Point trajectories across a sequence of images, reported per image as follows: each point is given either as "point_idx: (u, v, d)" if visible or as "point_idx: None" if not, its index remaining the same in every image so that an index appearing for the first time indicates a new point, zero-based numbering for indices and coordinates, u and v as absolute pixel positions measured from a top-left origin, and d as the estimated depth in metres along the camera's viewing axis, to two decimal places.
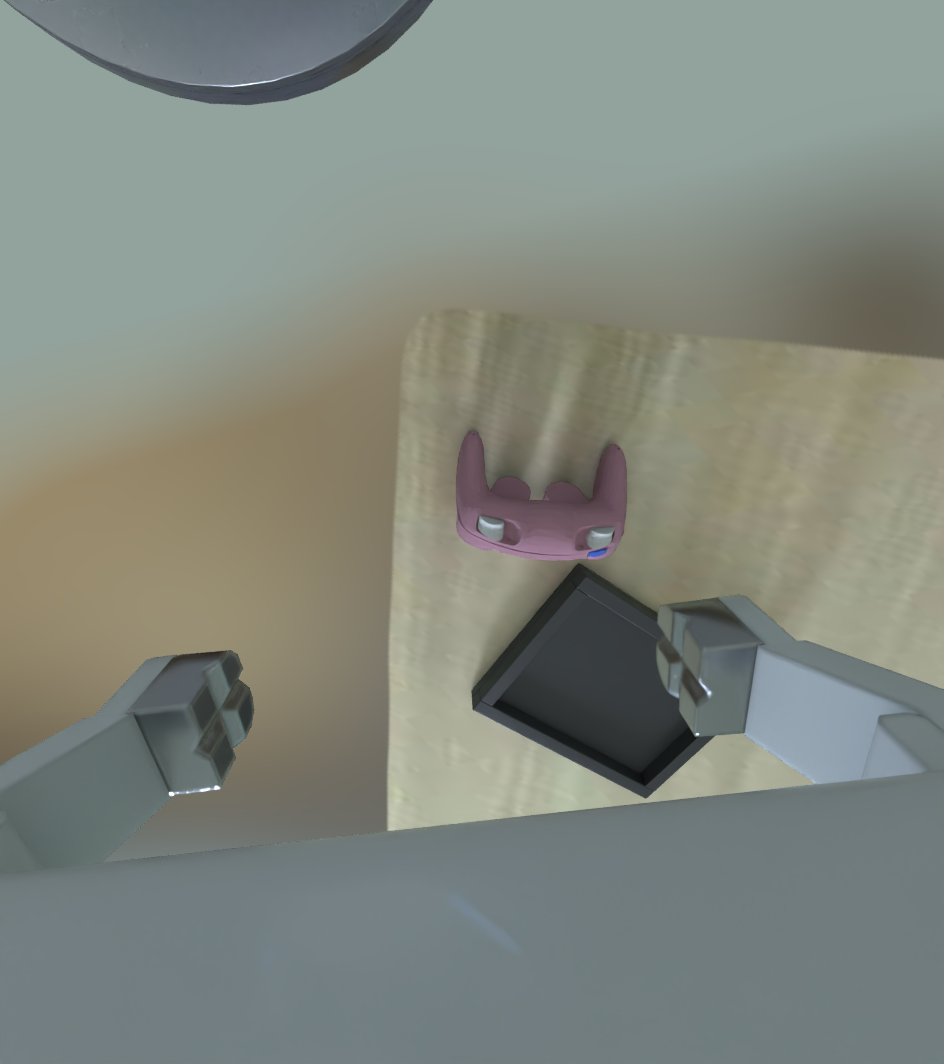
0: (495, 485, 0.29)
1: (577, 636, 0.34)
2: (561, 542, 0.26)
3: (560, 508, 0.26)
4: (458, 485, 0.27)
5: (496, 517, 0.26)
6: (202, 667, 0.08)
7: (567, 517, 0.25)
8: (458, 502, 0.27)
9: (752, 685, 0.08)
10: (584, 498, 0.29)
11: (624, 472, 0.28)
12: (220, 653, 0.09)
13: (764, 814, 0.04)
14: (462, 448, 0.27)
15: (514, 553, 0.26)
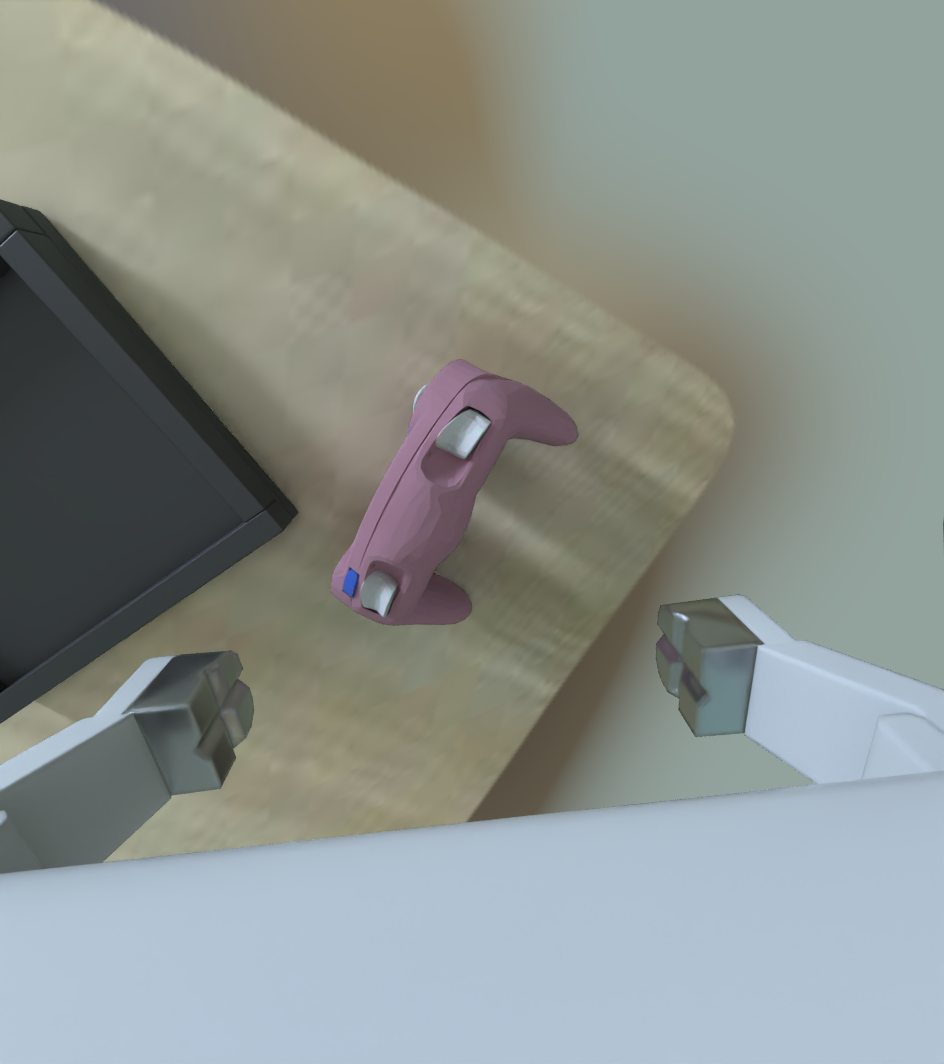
0: None
1: (153, 475, 0.18)
2: (399, 545, 0.15)
3: (450, 551, 0.16)
4: (528, 392, 0.16)
5: (478, 450, 0.14)
6: (202, 667, 0.08)
7: (435, 562, 0.15)
8: (507, 383, 0.15)
9: (752, 685, 0.08)
10: None
11: (442, 624, 0.19)
12: (220, 653, 0.09)
13: (764, 814, 0.04)
14: (567, 415, 0.17)
15: (403, 458, 0.14)
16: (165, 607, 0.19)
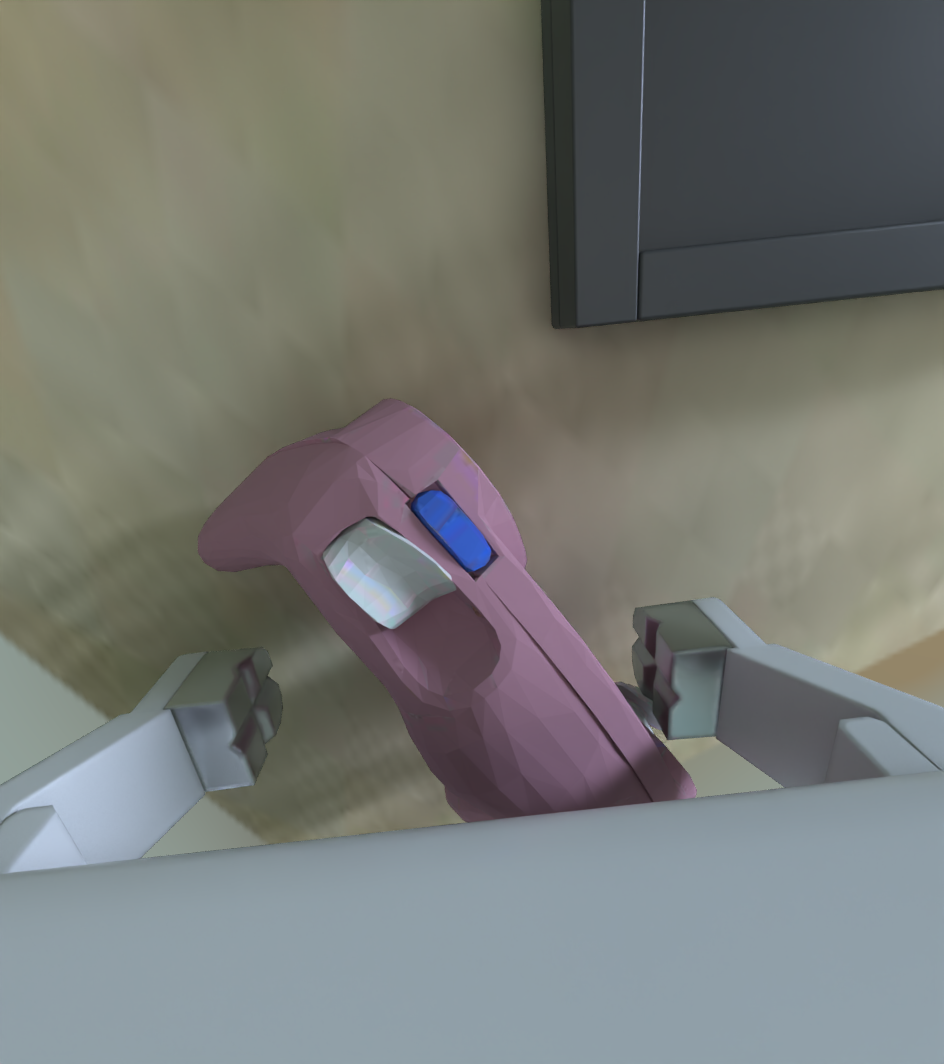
0: None
1: (819, 89, 0.08)
2: (512, 729, 0.06)
3: None
4: None
5: None
6: (235, 664, 0.08)
7: (421, 741, 0.07)
8: None
9: (722, 688, 0.08)
10: None
11: (210, 541, 0.08)
12: (251, 650, 0.09)
13: (764, 814, 0.04)
14: None
15: (653, 772, 0.07)
16: None
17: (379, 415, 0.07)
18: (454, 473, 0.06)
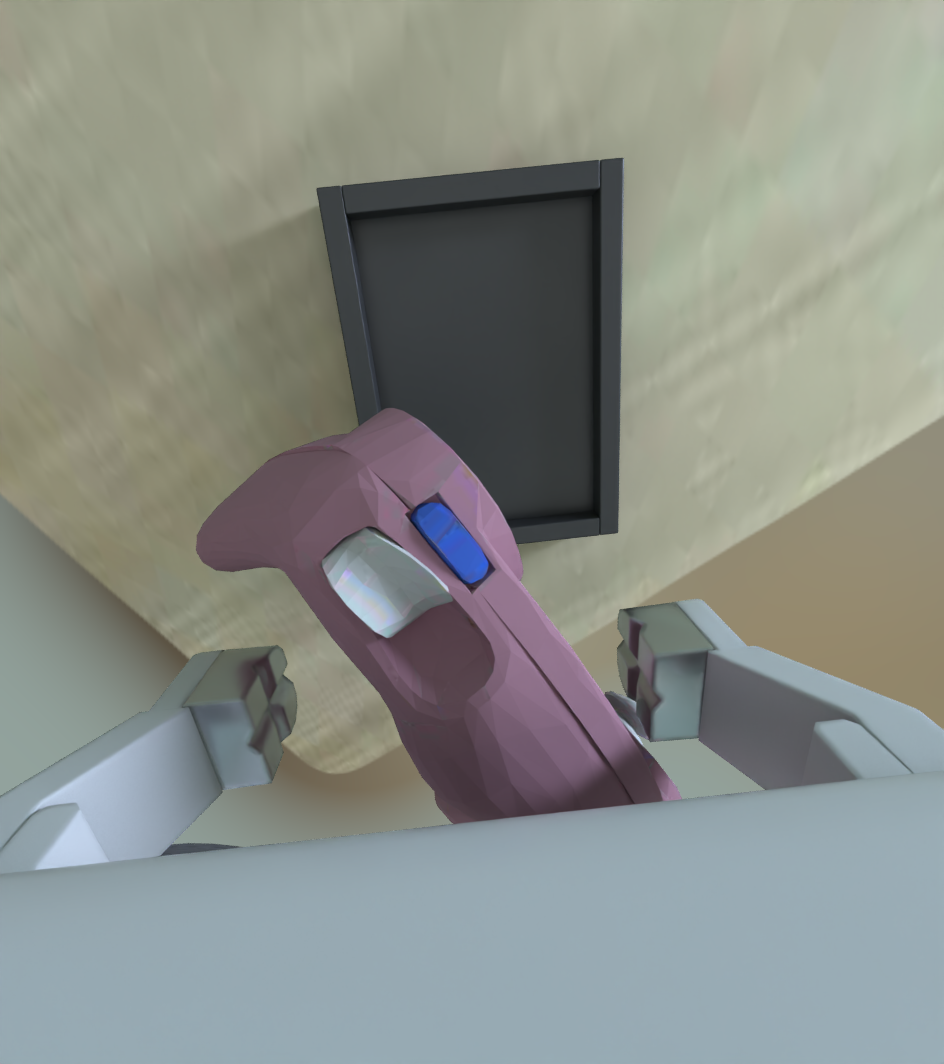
0: None
1: None
2: (503, 740, 0.06)
3: (411, 754, 0.07)
4: None
5: None
6: (251, 662, 0.08)
7: (413, 748, 0.07)
8: None
9: (704, 690, 0.08)
10: None
11: (209, 542, 0.08)
12: (267, 648, 0.09)
13: (764, 814, 0.04)
14: None
15: (641, 784, 0.07)
16: None
17: (382, 425, 0.07)
18: (454, 486, 0.06)
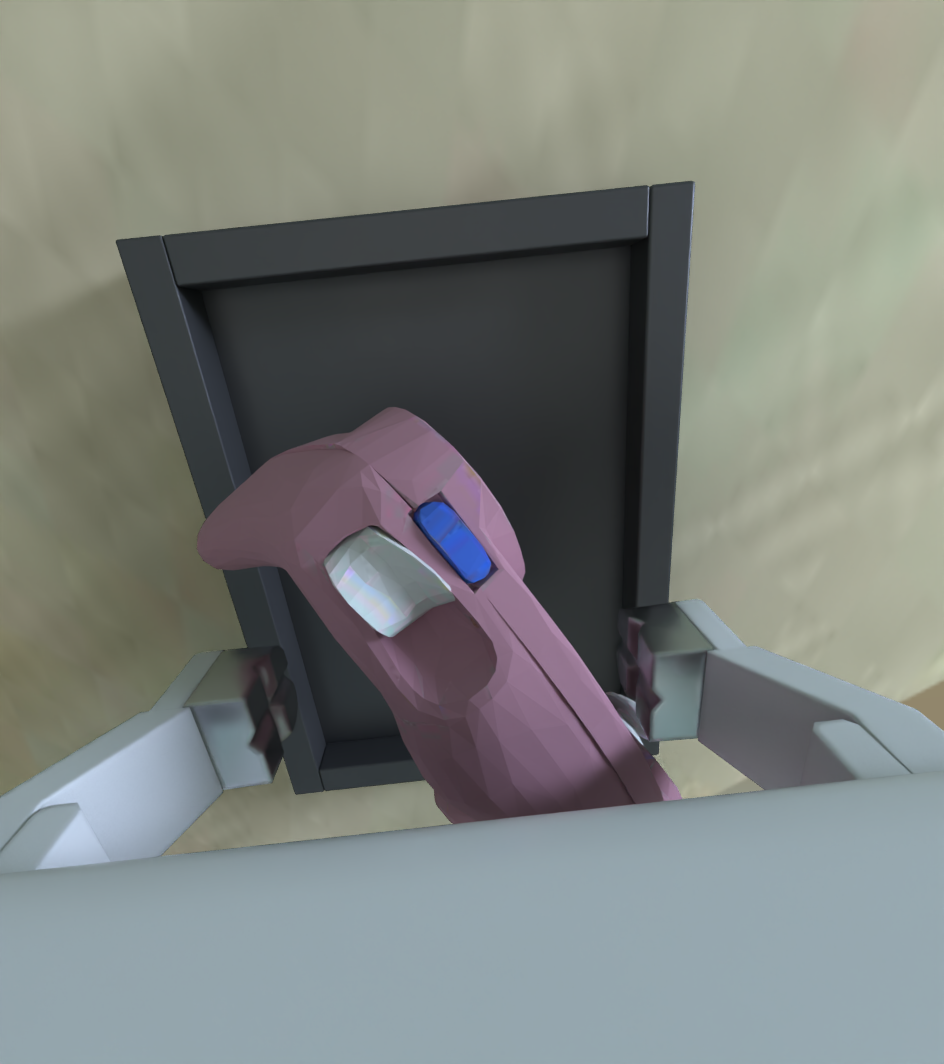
0: None
1: None
2: (505, 740, 0.06)
3: None
4: None
5: None
6: (252, 662, 0.08)
7: (414, 749, 0.07)
8: None
9: (703, 690, 0.08)
10: None
11: (210, 540, 0.08)
12: (268, 648, 0.09)
13: (764, 814, 0.04)
14: None
15: (641, 785, 0.07)
16: None
17: (384, 424, 0.07)
18: (457, 485, 0.06)
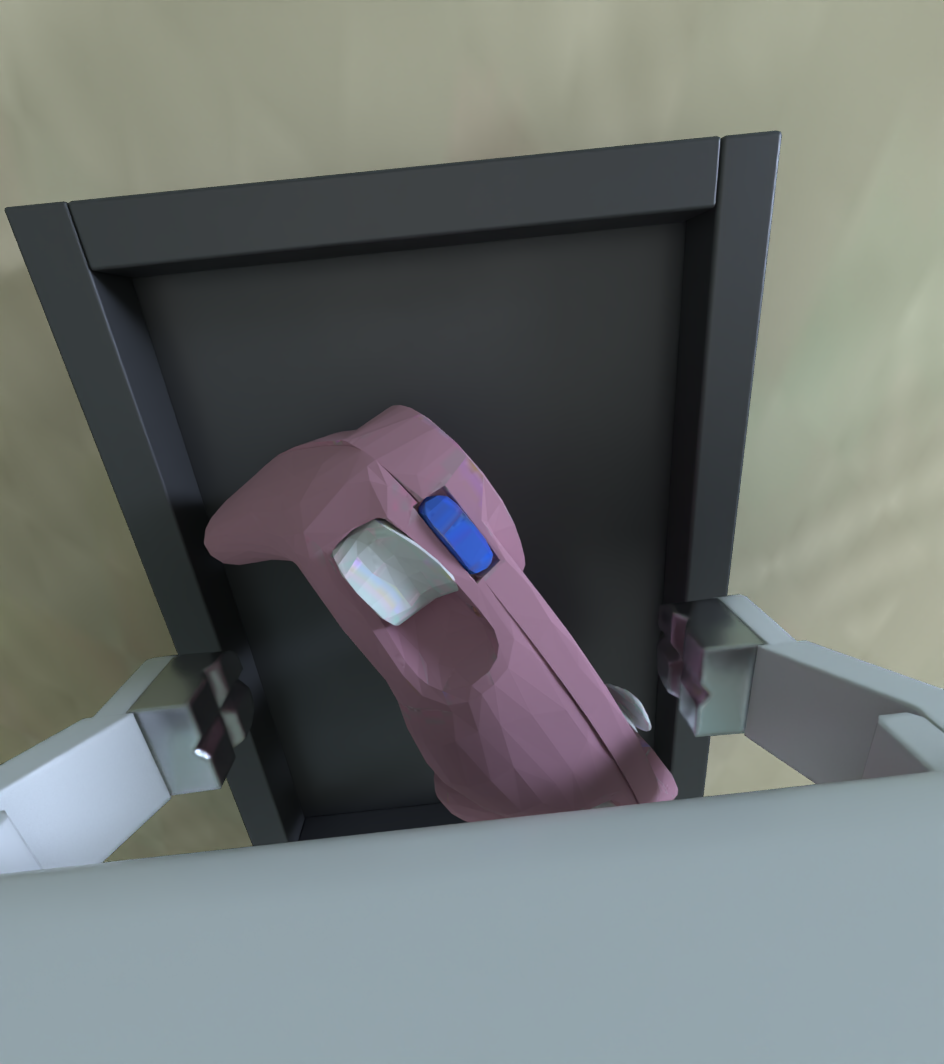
0: None
1: (401, 752, 0.14)
2: (506, 724, 0.06)
3: None
4: None
5: None
6: (202, 667, 0.08)
7: (419, 733, 0.07)
8: None
9: (752, 685, 0.08)
10: None
11: (219, 535, 0.09)
12: (220, 653, 0.09)
13: (764, 814, 0.04)
14: None
15: (637, 770, 0.07)
16: None
17: (390, 421, 0.07)
18: (460, 480, 0.06)
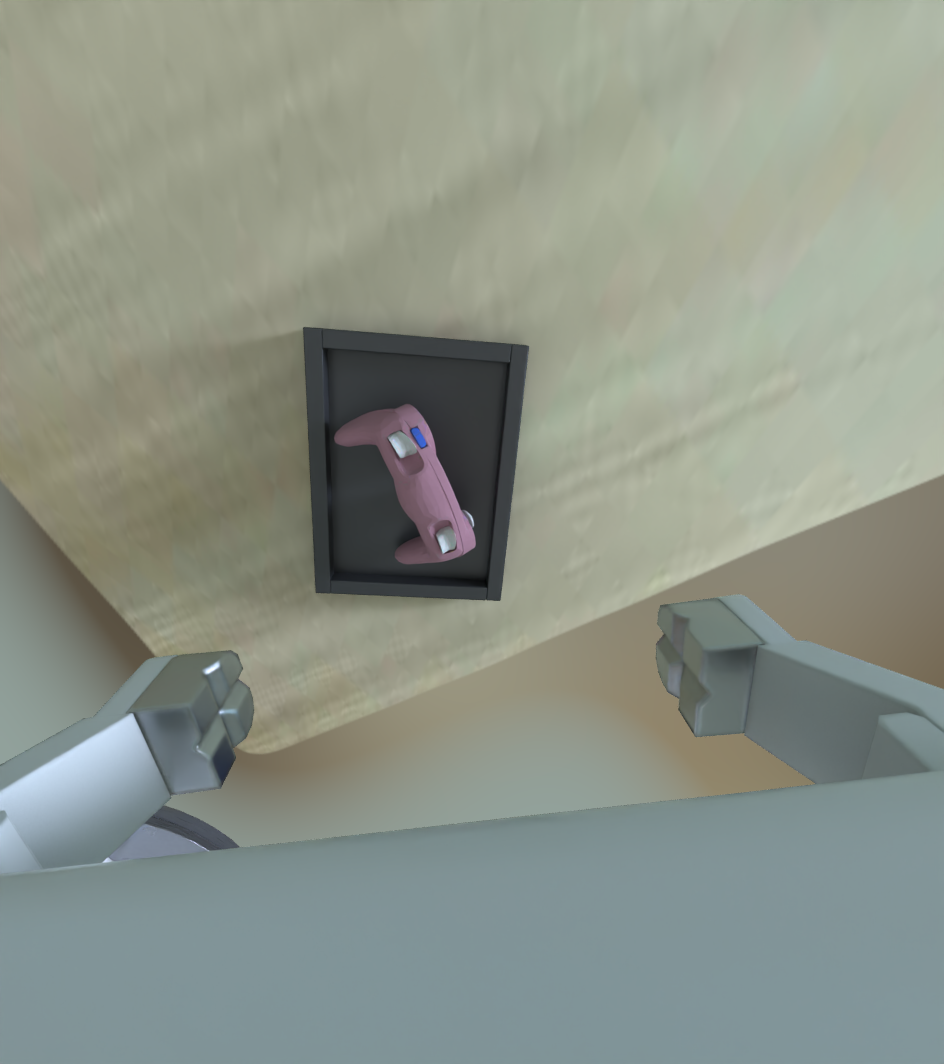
0: None
1: (382, 546, 0.33)
2: (423, 486, 0.26)
3: (398, 496, 0.27)
4: None
5: (435, 542, 0.28)
6: (202, 667, 0.08)
7: (400, 489, 0.26)
8: None
9: (752, 685, 0.08)
10: None
11: (346, 433, 0.28)
12: (220, 653, 0.09)
13: (764, 814, 0.04)
14: None
15: (457, 514, 0.27)
16: (313, 509, 0.31)
17: (406, 407, 0.26)
18: (421, 425, 0.26)
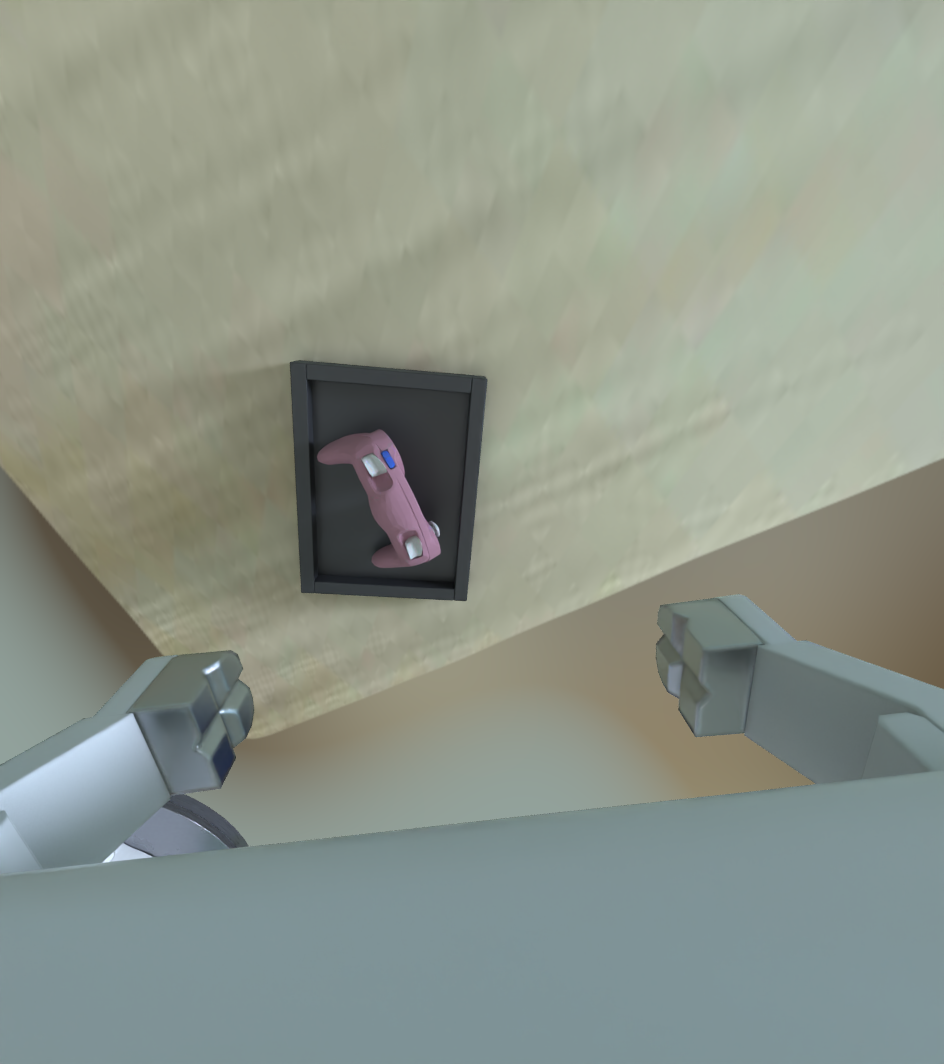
0: None
1: (360, 552, 0.37)
2: (392, 501, 0.30)
3: (371, 509, 0.31)
4: None
5: (404, 549, 0.32)
6: (202, 667, 0.08)
7: (372, 504, 0.30)
8: None
9: (752, 685, 0.08)
10: None
11: (326, 453, 0.32)
12: (220, 653, 0.09)
13: (764, 814, 0.04)
14: None
15: (423, 525, 0.31)
16: (299, 519, 0.35)
17: (378, 433, 0.30)
18: (391, 448, 0.30)
